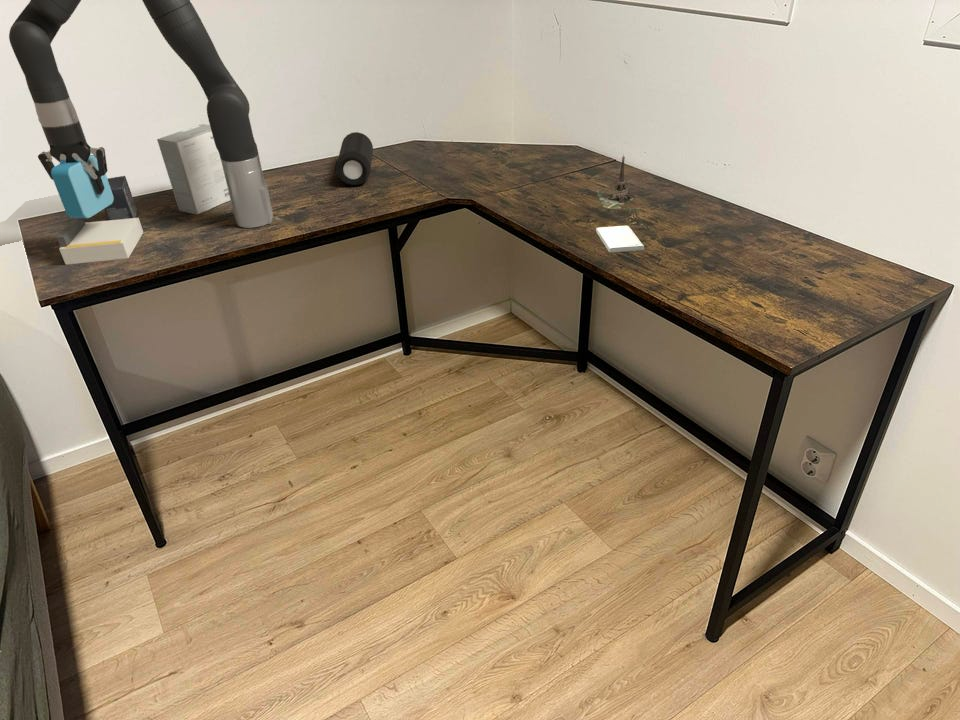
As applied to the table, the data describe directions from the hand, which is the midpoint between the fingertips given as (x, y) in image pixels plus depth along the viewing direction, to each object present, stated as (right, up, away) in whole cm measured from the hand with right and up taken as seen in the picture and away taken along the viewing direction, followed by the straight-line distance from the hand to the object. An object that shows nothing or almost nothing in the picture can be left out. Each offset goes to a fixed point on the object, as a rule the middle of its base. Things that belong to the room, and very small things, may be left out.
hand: (86, 194), depth 158 cm
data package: (0, -4, +2) cm, 4 cm away
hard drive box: (+16, +5, +31) cm, 35 cm away
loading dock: (0, -11, +7) cm, 14 cm away
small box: (-3, -2, +22) cm, 23 cm away
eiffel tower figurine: (+130, +4, +24) cm, 133 cm away
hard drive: (+126, -11, +2) cm, 127 cm away
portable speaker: (+55, +18, +49) cm, 76 cm away
